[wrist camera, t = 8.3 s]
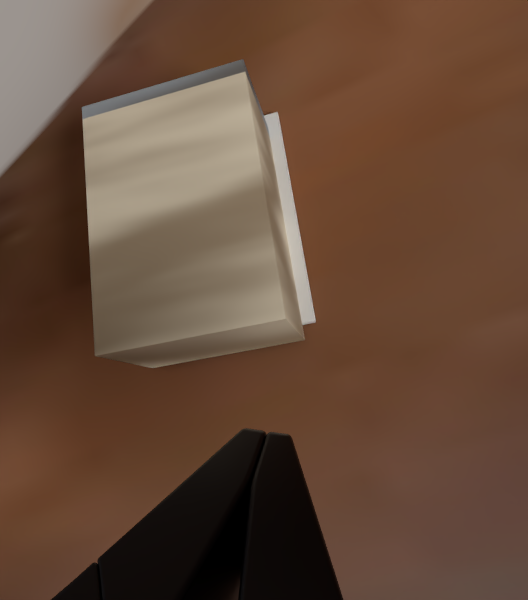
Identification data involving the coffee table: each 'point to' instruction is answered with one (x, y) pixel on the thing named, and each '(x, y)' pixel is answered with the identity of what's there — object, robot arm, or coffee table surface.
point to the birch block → (186, 223)
